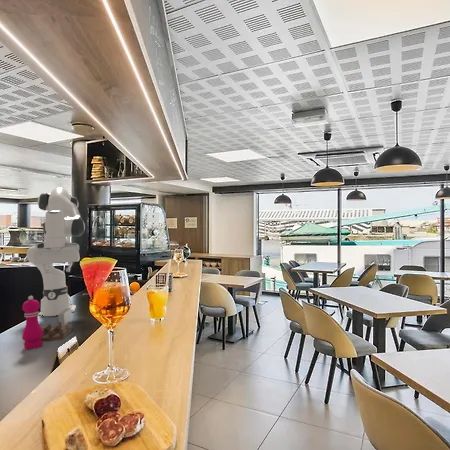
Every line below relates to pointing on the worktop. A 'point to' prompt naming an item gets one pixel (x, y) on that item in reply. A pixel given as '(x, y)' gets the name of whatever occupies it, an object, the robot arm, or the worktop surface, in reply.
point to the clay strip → (65, 317)
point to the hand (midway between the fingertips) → (57, 272)
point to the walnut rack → (56, 331)
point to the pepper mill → (32, 324)
